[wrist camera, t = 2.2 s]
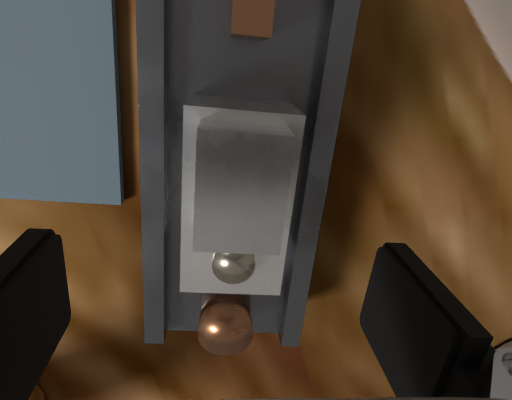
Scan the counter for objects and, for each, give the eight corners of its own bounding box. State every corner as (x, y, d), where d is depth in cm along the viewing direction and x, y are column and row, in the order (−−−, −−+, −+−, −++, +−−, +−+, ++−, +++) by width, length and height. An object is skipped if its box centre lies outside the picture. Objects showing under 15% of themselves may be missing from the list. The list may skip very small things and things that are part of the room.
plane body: (153, -48, 19) (113, -101, 12) (340, -24, 20) (396, -61, 13) (156, 301, 27) (133, 380, 20) (288, 305, 28) (307, 381, 21)
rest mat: (115, -8, 19) (110, -11, 18) (124, 200, 24) (121, 205, 23) (-135, -38, 18) (-150, -41, 17) (-75, 188, 22) (-85, 193, 22)
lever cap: (193, 93, 18) (176, 113, 13) (288, 101, 19) (317, 124, 13) (188, 246, 22) (174, 320, 16) (270, 250, 22) (285, 322, 16)
